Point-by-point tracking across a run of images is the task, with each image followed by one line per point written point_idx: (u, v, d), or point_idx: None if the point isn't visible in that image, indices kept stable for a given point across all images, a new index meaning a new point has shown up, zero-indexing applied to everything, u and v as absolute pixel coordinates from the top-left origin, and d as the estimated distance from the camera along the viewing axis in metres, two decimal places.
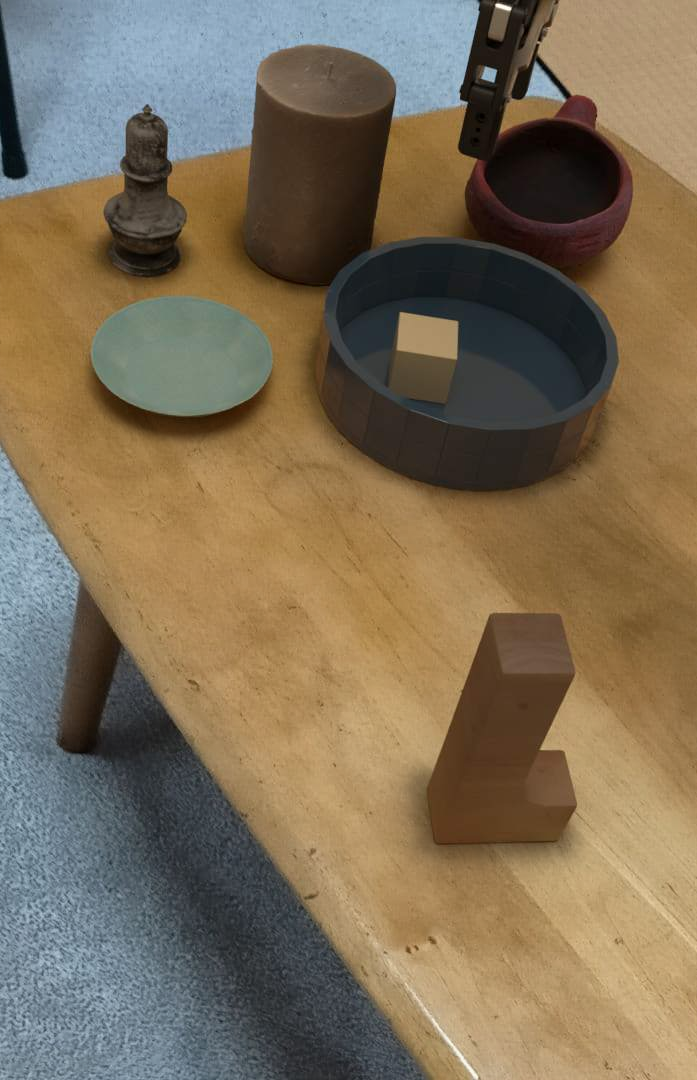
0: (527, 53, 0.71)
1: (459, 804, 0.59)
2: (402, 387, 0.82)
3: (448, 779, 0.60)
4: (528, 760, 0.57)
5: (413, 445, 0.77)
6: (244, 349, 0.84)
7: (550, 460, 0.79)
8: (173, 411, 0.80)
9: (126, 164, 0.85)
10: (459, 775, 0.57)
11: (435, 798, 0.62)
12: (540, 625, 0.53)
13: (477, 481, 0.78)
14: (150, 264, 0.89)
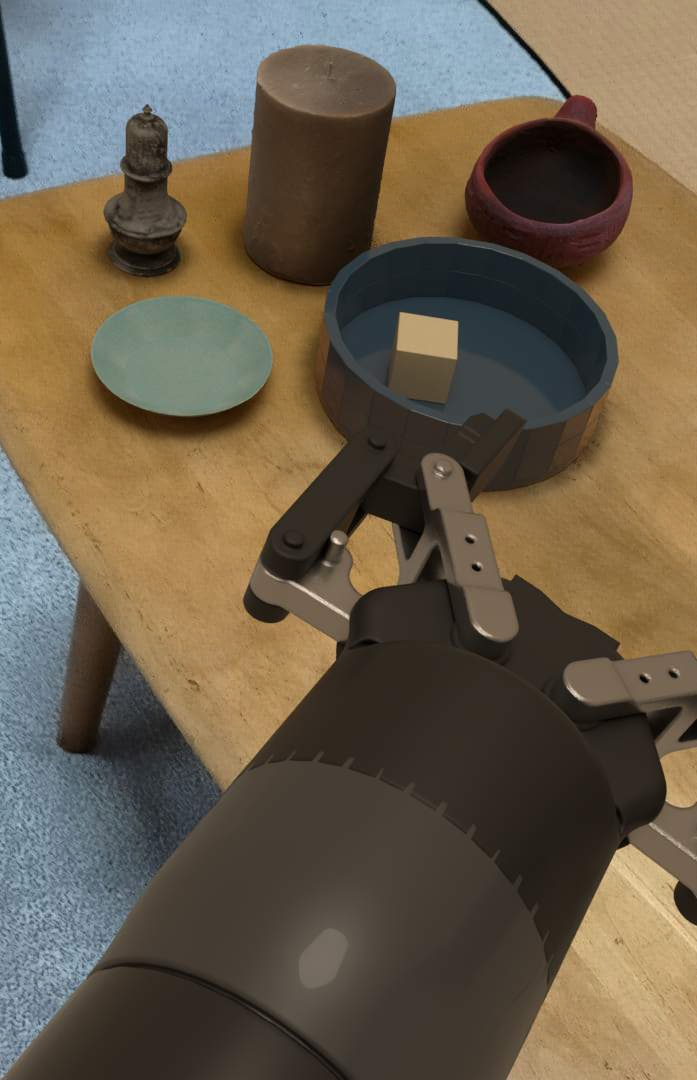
0: None
1: None
2: (402, 387, 0.82)
3: None
4: None
5: (413, 445, 0.77)
6: (244, 349, 0.84)
7: (550, 460, 0.79)
8: (173, 411, 0.80)
9: (126, 164, 0.85)
10: None
11: None
12: None
13: None
14: (150, 264, 0.89)
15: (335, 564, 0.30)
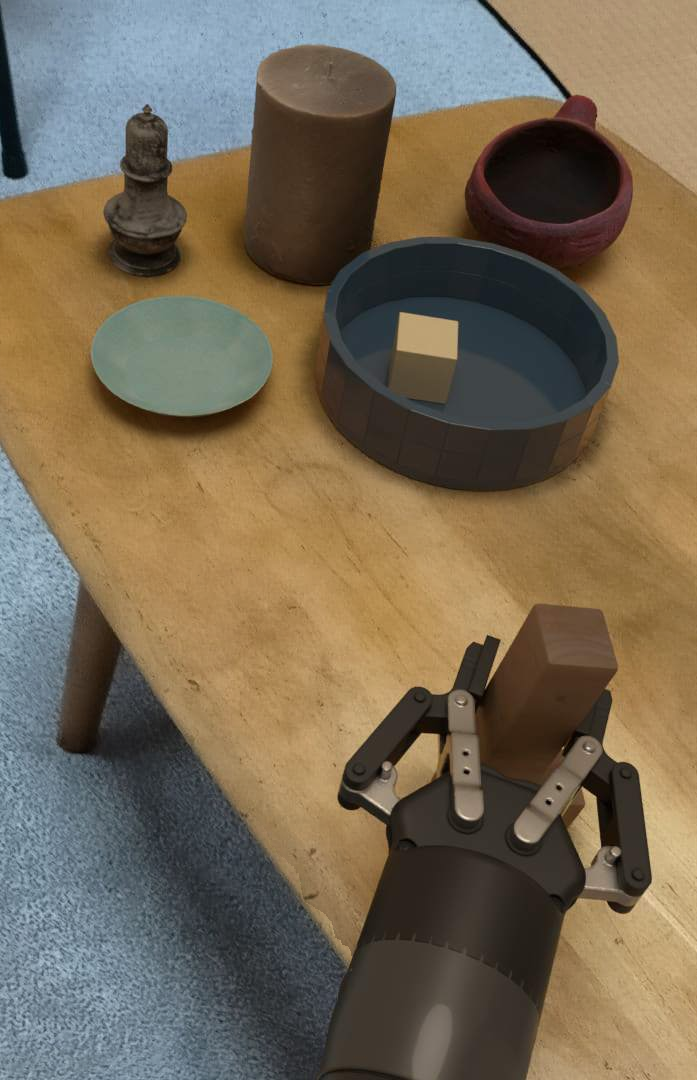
0: (575, 790, 0.53)
1: None
2: (402, 387, 0.82)
3: None
4: (550, 755, 0.57)
5: (413, 445, 0.77)
6: (244, 349, 0.84)
7: (550, 460, 0.79)
8: (173, 411, 0.80)
9: (126, 164, 0.85)
10: None
11: None
12: (583, 619, 0.53)
13: (477, 481, 0.78)
14: (150, 264, 0.89)
15: (387, 779, 0.53)
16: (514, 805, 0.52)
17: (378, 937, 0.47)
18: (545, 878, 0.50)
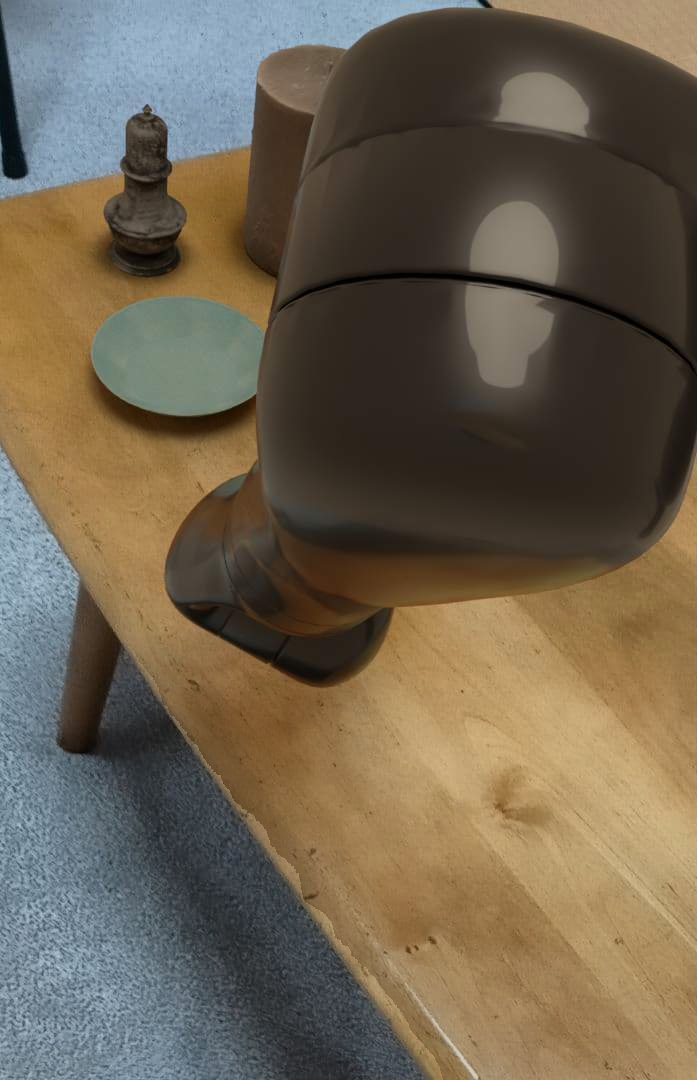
0: None
1: None
2: None
3: None
4: None
5: None
6: (244, 349, 0.84)
7: None
8: (173, 411, 0.80)
9: (126, 164, 0.85)
10: None
11: None
12: None
13: None
14: (150, 264, 0.89)
15: None
16: None
17: None
18: None
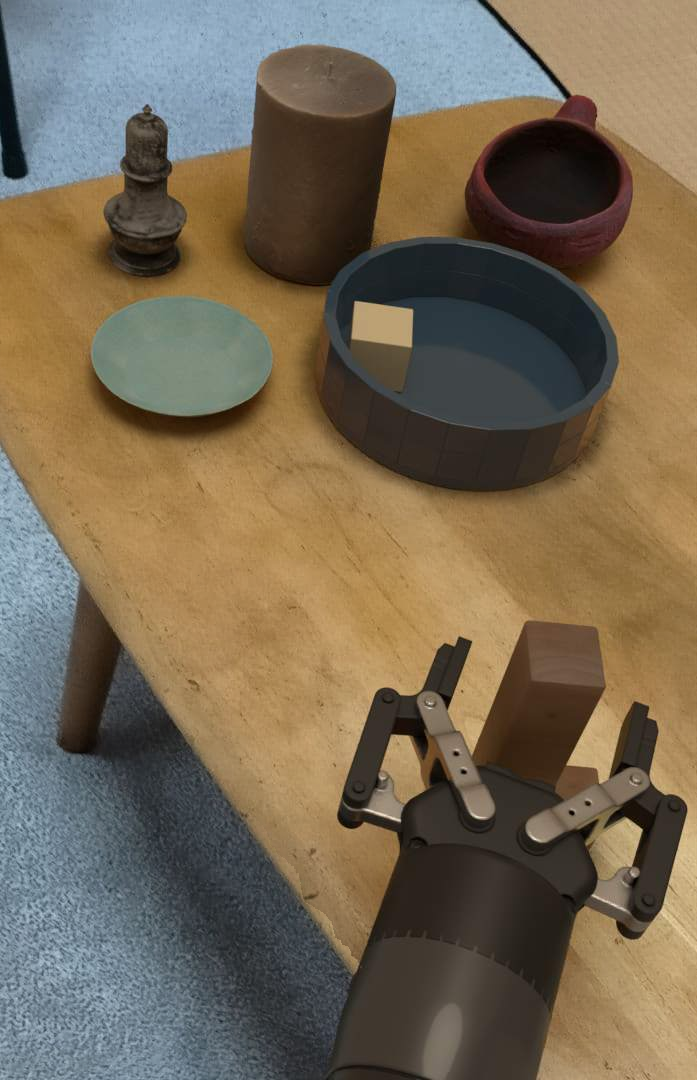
0: (604, 811, 0.52)
1: None
2: None
3: None
4: (555, 772, 0.56)
5: (413, 445, 0.77)
6: (244, 349, 0.84)
7: (550, 460, 0.79)
8: (173, 411, 0.80)
9: (126, 164, 0.85)
10: None
11: None
12: (575, 636, 0.53)
13: (477, 481, 0.78)
14: (150, 264, 0.89)
15: (384, 787, 0.52)
16: (526, 805, 0.52)
17: (388, 934, 0.46)
18: (557, 878, 0.50)
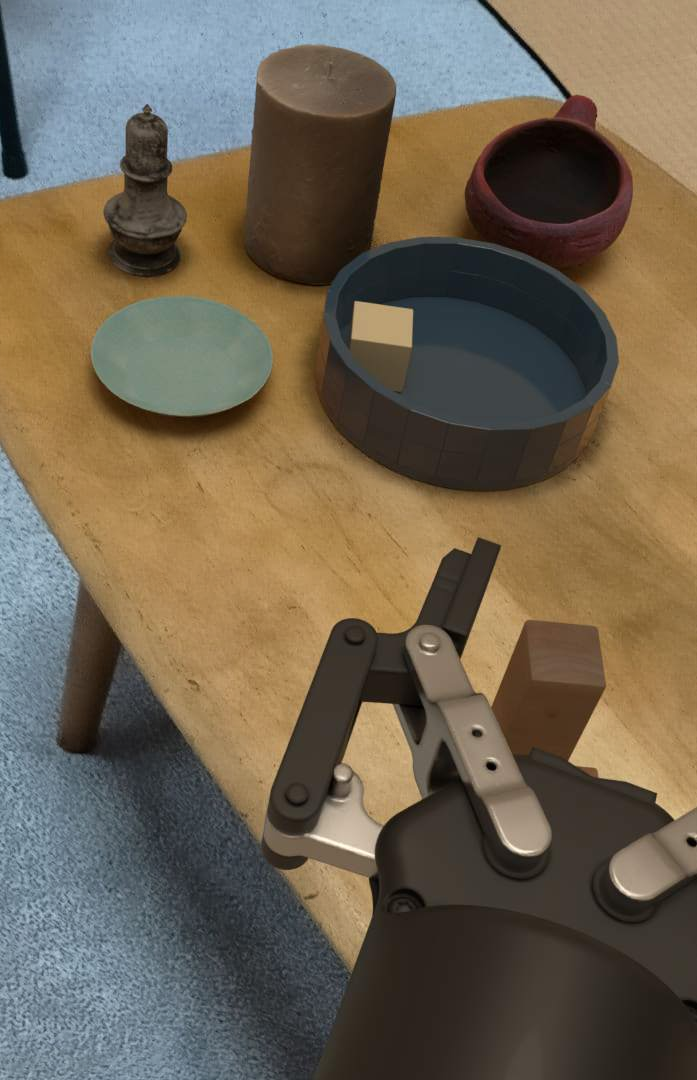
0: None
1: None
2: None
3: None
4: None
5: (413, 445, 0.77)
6: (244, 349, 0.84)
7: (550, 460, 0.79)
8: (173, 411, 0.80)
9: (126, 164, 0.85)
10: None
11: None
12: (575, 636, 0.53)
13: (477, 481, 0.78)
14: (150, 264, 0.89)
15: (346, 795, 0.29)
16: (605, 827, 0.28)
17: None
18: (670, 968, 0.26)
